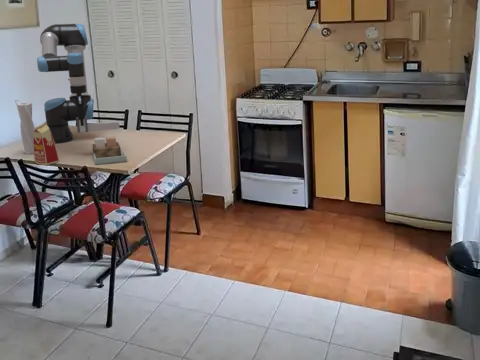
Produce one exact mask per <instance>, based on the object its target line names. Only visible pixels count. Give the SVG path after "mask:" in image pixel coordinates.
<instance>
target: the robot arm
mask: <svg viewBox="0 0 480 360" xmlns="http://www.w3.org/2000/svg"><path fill="white" fill-rule="evenodd" d="M39 41H40V45H41V56H38V57H37V59H36V64H37V70H38V72H40V73H52V72H68V77H69V78H68V81H69V84H70V86H69V88H70V89H69V91H70V93H71V94H70V96H69V98H68V100H67V99H66V98H65V97H56V98H51V99H48V100H46V101H45V102H44V104H43V106H44V115H45V122H46V124H47V126H48V127H49V129H50V132H51V134H52V136H53V139H54V142H55V144H62V143H68V142H71V141H73V140H74V134H73V133H72V131H71V129H70V126H69V122H75V121H76V118H77V117H79V118H78V120H79V126H80V133H87V132H86V130H85V120H84V118H85V117H86V118H87V121H88V120H93V118H94V106H95V105H94V103H95V102H94V101H95V99H94V98H92V97H91V96H92V95H91V94H90V93H88V83H87V82H88V81H87V74H86V64H85V54H84V51H85V49H86V48H87V47H86V46H87V45H88V44H89V43H88V42H89V41H88V37H87V31H86V28H85V25H84V24H82V23H61V24H58V23H57V24H56V23H55V24H52V25H49V26H48V27H46V28H44V30H43V31H42V32H41V34H40V37H39ZM59 46H60V47H62V46H63V47H64V50H65V51H66V52H67V55H58V47H59Z"/></svg>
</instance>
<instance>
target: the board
mask: <svg viewBox="0 0 480 360" xmlns="http://www.w3.org/2000/svg"><path fill="white" fill-rule="evenodd" d="M91 146H92V153H93V154H95V157H96V158H104V157H114V156H122V151H121V149H122V148H121V146H120V143H119V142H118V141H116V146H113V147H107V145H106V142H105V147H99V148H96V146H95V143H93V144H91ZM93 154H92V155H93Z"/></svg>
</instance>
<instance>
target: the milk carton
mask: <svg viewBox="0 0 480 360" xmlns="http://www.w3.org/2000/svg"><path fill="white" fill-rule="evenodd" d="M34 128H35V131H34V142H33V143H34V153H33V156H34V157H33V159H34V163H35V164H37V165H39V166H49V165H53V164H56V163H60V158H59V154H58V150H57V149H58V148H57V145H56V143H55V142H54V139H53V136H52V134H51V132H50V129H49V127H48V126H47V124H46V121H44V122H43V123H41V124H40V125H38V126H34Z"/></svg>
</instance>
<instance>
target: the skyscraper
mask: <svg viewBox="0 0 480 360" xmlns="http://www.w3.org/2000/svg"><path fill="white" fill-rule="evenodd" d="M14 102H15V104H16V108H17V112H18V116H19V119H20V121H19V122H20V136H21V140H22V146H23V149H24V153H25V155H32V154H33V155H34V143H33V142H34V131H35V124H34V120H33V103H32V102H31V101H22V100H20V99H19V100H18V99H15V100H14ZM17 102H20V103H19V104H18V103H17Z"/></svg>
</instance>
